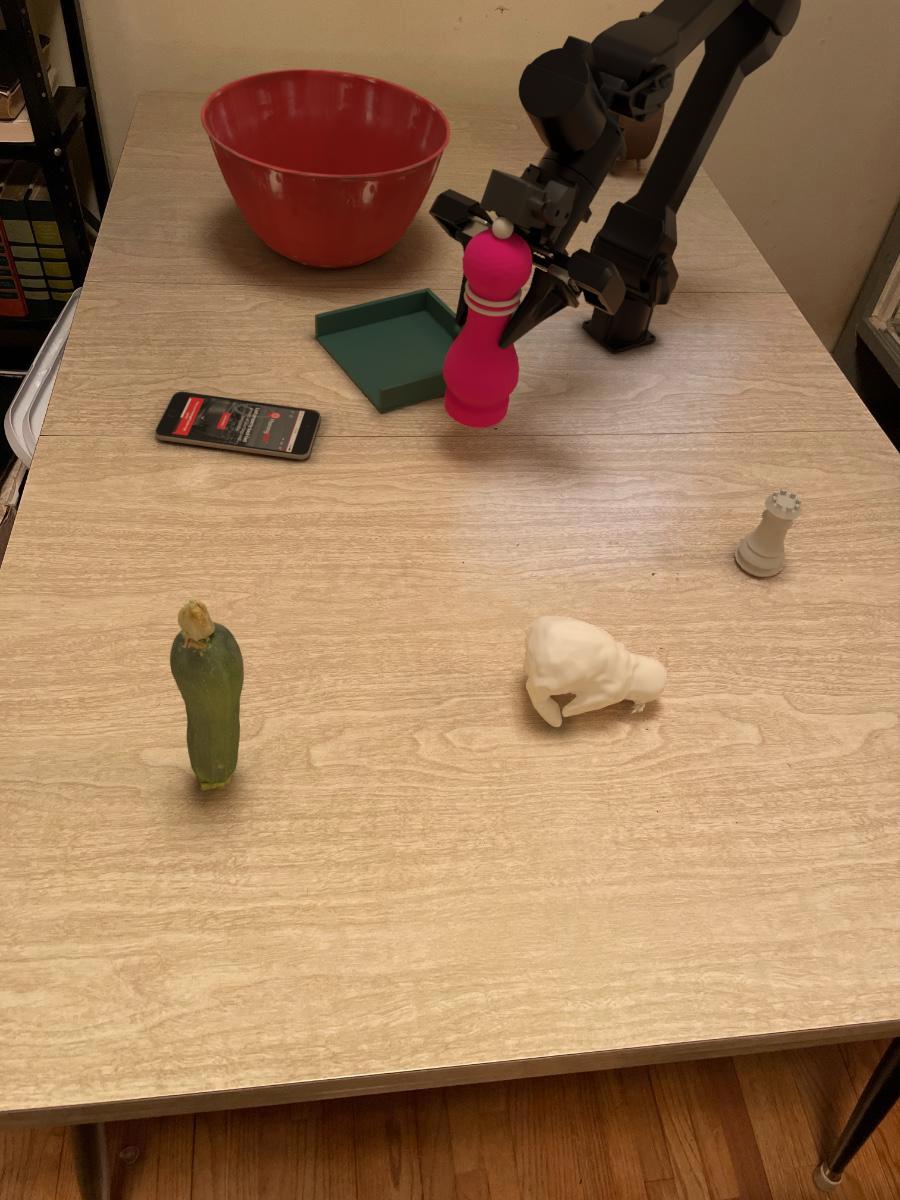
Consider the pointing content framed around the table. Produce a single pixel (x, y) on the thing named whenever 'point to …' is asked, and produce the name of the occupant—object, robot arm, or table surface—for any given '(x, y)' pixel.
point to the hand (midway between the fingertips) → (478, 336)
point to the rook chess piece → (769, 536)
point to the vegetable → (208, 693)
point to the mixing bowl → (325, 160)
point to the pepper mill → (487, 327)
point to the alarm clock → (639, 132)
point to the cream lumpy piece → (585, 669)
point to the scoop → (392, 346)
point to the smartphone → (239, 425)
